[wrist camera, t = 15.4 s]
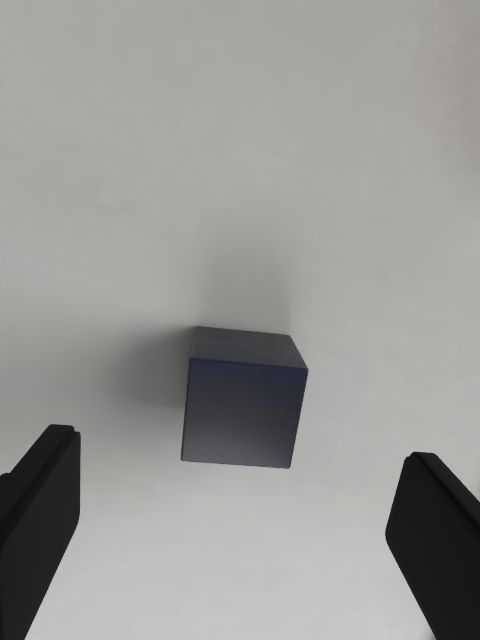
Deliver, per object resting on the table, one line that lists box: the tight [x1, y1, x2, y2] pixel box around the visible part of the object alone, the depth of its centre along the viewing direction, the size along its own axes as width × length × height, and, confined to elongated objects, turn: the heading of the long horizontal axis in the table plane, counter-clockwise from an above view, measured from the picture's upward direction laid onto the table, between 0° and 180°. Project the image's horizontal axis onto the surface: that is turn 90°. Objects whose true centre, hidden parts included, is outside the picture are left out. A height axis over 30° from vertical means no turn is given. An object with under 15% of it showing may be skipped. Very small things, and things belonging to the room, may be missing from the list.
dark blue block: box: [181, 326, 309, 469], centre depth 14 cm, size 4×4×4 cm
